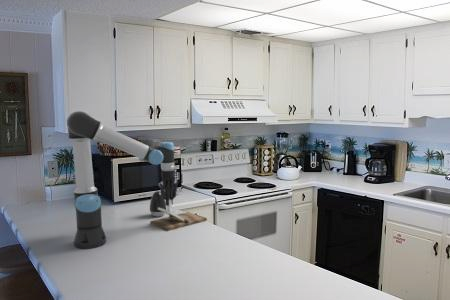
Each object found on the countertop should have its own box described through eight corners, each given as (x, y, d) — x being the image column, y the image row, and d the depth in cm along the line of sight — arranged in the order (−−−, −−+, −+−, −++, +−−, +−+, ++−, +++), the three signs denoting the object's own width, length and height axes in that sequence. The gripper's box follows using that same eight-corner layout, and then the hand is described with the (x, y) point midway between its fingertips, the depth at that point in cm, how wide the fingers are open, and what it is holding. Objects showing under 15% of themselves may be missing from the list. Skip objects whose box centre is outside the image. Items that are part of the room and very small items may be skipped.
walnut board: (168, 230, 213) (167, 225, 213) (150, 223, 226) (150, 218, 226) (206, 220, 231) (206, 215, 231) (188, 214, 244) (188, 209, 244)
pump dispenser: (165, 217, 238) (164, 193, 236) (148, 217, 238) (147, 193, 236) (168, 213, 248) (167, 189, 246) (151, 213, 248) (150, 189, 246)
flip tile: (185, 219, 224) (184, 221, 224) (173, 215, 233) (172, 217, 233) (170, 211, 217) (169, 213, 216) (158, 207, 226) (157, 209, 225)
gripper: (161, 172, 214) (163, 214, 216) (181, 168, 222) (182, 209, 225) (154, 170, 219) (156, 211, 222) (173, 167, 228) (175, 207, 231)
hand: (169, 210), depth 224 cm, fingers closed
